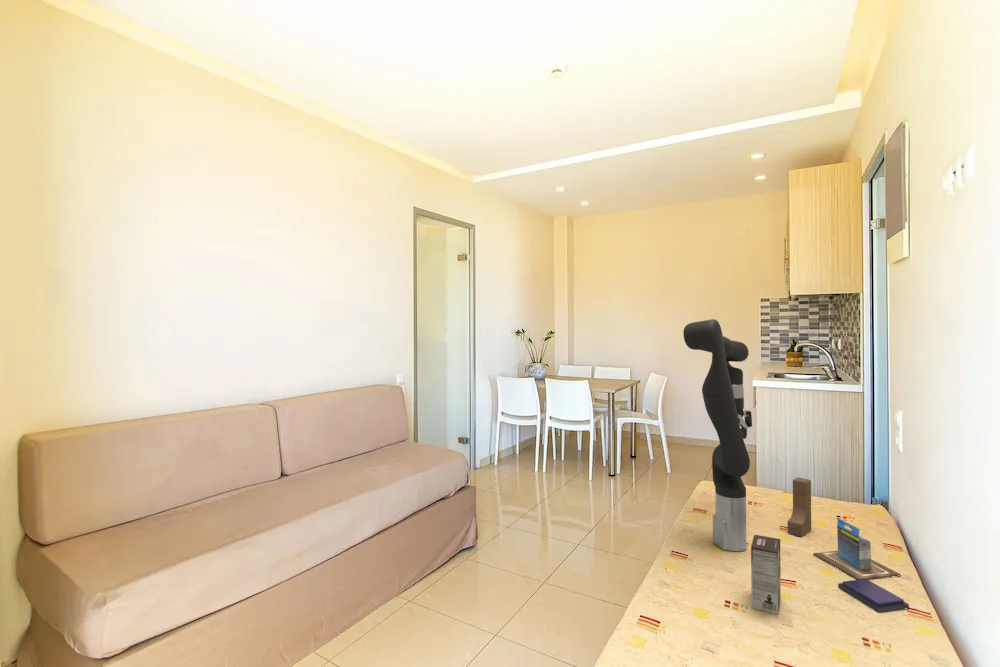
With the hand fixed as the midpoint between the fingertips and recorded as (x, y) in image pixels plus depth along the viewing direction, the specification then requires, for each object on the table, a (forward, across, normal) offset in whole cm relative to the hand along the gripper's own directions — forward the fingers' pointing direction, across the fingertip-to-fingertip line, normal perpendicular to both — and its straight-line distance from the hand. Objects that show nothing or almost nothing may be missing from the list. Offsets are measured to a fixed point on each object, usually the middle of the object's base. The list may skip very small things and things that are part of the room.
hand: (732, 439), depth 183 cm
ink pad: (+30, -2, +55) cm, 63 cm away
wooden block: (+30, -15, +15) cm, 37 cm away
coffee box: (+30, +27, +52) cm, 66 cm away
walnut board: (+30, -13, +39) cm, 51 cm away
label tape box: (+30, -13, +39) cm, 51 cm away
